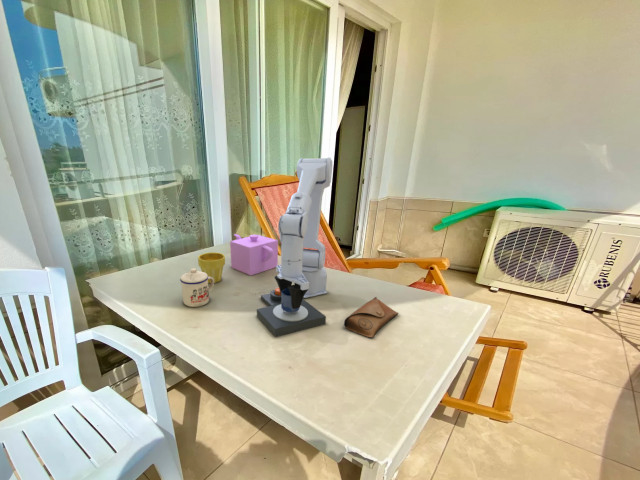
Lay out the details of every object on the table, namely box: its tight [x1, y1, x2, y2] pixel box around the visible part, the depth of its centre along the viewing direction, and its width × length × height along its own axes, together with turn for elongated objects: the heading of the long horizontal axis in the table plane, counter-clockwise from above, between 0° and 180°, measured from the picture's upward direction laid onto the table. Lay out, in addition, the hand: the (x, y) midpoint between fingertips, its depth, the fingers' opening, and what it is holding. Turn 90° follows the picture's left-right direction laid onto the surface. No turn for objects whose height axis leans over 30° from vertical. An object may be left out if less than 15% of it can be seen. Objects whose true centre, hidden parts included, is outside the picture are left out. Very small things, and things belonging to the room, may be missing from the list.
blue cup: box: [281, 288, 300, 312], centre depth 86 cm, size 5×5×5 cm
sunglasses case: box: [343, 296, 400, 339], centre depth 86 cm, size 18×7×7 cm
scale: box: [256, 298, 327, 338], centre depth 88 cm, size 16×12×3 cm
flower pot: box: [197, 251, 226, 284], centre depth 117 cm, size 10×10×10 cm
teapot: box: [229, 233, 279, 276], centre depth 129 cm, size 15×25×14 cm, turn 38°
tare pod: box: [260, 289, 281, 307], centre depth 100 cm, size 10×8×3 cm
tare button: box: [274, 287, 281, 295], centre depth 99 cm, size 3×3×2 cm
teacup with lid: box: [179, 267, 215, 308], centre depth 101 cm, size 12×9×12 cm
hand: (290, 303), depth 87 cm, fingers closed on blue cup, 5 cm apart
